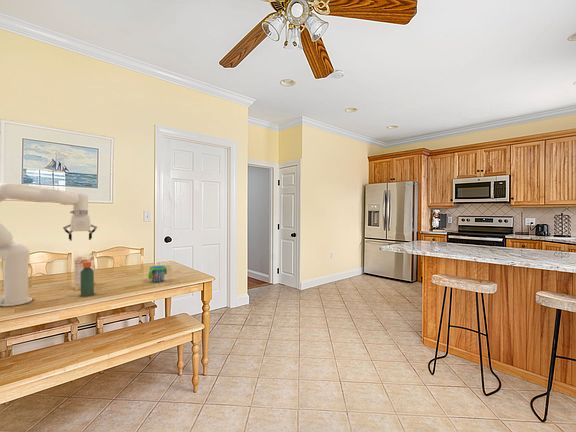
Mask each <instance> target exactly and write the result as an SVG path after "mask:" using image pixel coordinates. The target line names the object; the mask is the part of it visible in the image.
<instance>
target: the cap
mask: <svg viewBox="0 0 576 432" xmlns="http://www.w3.org/2000/svg"><path fill="white" fill-rule="evenodd" d="M89 267H91V262H83V268H89Z"/></svg>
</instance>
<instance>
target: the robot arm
mask: <svg viewBox="0 0 576 432" xmlns="http://www.w3.org/2000/svg"><path fill="white" fill-rule="evenodd" d="M5 200H17V201H25V202H33V203H52V204H53V203H54V204H60V205H64V206H72V210H71V211H70V212H69V214H72V215H71V217H70V224H67V225H65V226H63V227H62V228H63V230H64V232H65V233H67V234H68V240H69V241H70V242H72V240H73V235H72V233H74V232H88V240H89V241H90V240H91V239H93V234H94V233H95V232H96V230H97V229H98V226H96V225H94V224H92V223H91V216H90V215H89V195H88V194H87V193H76V192H73V191H67V190H60V189H54V188H48V187H42V186H35V185H29V184H28V185H27V184H22V183H16V182H0V203H1V202H3V201H5ZM68 228H70V230H68ZM91 228H93V229H92V230H91ZM13 237H14V236H13V234H12V232H11V231H10V230H8V228H6V226H4V225H3V223H2V222H0V260H3V261H4V264H3V271H2V272H3V274H2V275H3V295H1V296H0V307H15V306H20V305H24V304H25V305H26V304H28V303H30V302H32V301H33V297H32V296H29V262H30V256H31V254H30V250H29V249H28V247H27V246H26V245H24V244H20V243H16V242H15V241H14V240H13Z"/></svg>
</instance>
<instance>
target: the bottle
mask: <svg viewBox="0 0 576 432" xmlns="http://www.w3.org/2000/svg"><path fill="white" fill-rule="evenodd" d="M80 275H81V290H80V297H90V296H94V295H95V270H94V271H93V270H92V268H90V267H89V268H84V269H83V270H82V271H81V272H80Z"/></svg>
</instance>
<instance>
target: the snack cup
mask: <svg viewBox="0 0 576 432" xmlns="http://www.w3.org/2000/svg"><path fill="white" fill-rule="evenodd" d="M167 274H168V270H167V266H166V265H152V266H150V267H149V270H148V276H147V277H148V279H150V280H151V282H153V283H160V282H163V281H164V280H165V275H167Z"/></svg>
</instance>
